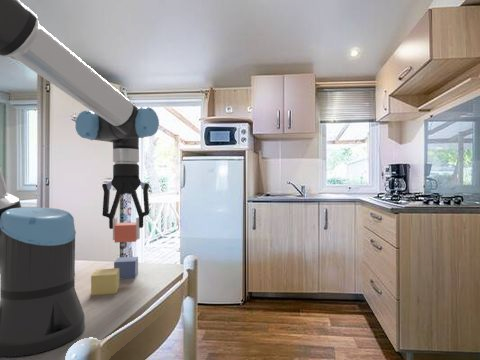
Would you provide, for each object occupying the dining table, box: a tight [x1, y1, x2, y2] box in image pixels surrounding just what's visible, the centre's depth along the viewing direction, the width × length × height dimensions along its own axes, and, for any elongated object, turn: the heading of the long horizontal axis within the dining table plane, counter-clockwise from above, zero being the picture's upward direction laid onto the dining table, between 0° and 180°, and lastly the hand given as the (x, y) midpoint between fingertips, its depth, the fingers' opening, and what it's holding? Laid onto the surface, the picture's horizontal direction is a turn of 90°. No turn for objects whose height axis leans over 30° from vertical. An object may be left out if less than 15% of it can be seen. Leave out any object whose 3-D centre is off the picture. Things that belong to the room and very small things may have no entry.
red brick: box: [114, 221, 138, 244], centre depth 98 cm, size 6×6×5 cm
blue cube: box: [113, 256, 139, 280], centre depth 97 cm, size 6×6×5 cm
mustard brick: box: [90, 267, 120, 296], centre depth 84 cm, size 6×6×5 cm
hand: (126, 238), depth 97 cm, fingers closed on red brick, 6 cm apart
